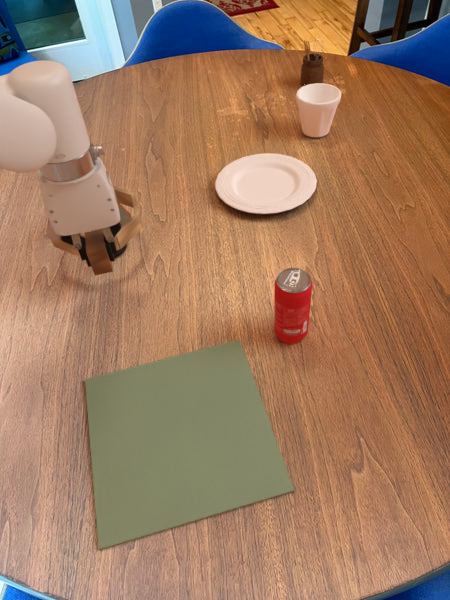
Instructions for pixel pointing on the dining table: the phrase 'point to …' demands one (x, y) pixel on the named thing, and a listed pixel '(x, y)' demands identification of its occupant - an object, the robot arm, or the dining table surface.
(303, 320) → the beverage can
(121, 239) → the hoop
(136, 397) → the mat
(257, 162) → the plate
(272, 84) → the dining table surface
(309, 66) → the utensil holder
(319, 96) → the cup
